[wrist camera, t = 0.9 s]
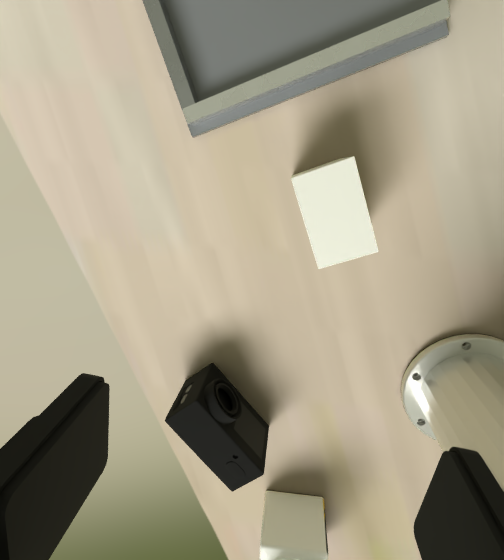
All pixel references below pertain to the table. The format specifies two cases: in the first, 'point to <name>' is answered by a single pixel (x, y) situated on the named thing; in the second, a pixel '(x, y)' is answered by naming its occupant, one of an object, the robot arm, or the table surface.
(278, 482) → the table surface
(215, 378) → the digital camera
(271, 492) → the medicine bottle
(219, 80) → the plate
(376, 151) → the table surface
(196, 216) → the table surface
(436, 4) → the rail guides
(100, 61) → the table surface
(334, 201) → the block
